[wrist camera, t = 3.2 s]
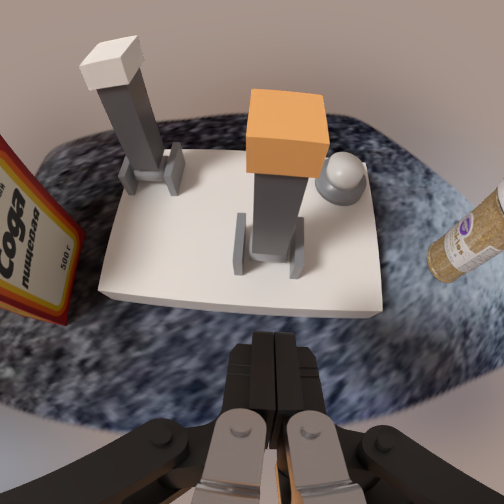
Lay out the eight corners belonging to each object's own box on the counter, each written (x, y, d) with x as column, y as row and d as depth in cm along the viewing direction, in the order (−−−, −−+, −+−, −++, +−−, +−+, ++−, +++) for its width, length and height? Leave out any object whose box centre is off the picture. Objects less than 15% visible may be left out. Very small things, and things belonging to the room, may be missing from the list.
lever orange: (286, 236, 22) (322, 95, 10) (286, 271, 21) (329, 144, 9) (249, 233, 22) (251, 88, 10) (247, 268, 21) (245, 136, 9)
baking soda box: (66, 326, 23) (-71, 264, 8) (20, 315, 23) (-98, 256, 8) (85, 232, 26) (-8, 123, 11) (41, 230, 26) (-50, 141, 12)
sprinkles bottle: (422, 240, 26) (503, 160, 14) (455, 245, 26) (535, 175, 14) (427, 283, 25) (523, 217, 12) (460, 286, 24) (554, 228, 12)
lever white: (174, 163, 25) (138, 35, 13) (167, 189, 24) (120, 57, 12) (145, 163, 25) (98, 43, 13) (137, 189, 24) (78, 66, 12)
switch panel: (356, 181, 29) (374, 143, 23) (368, 318, 23) (399, 302, 18) (145, 168, 29) (129, 131, 24) (112, 299, 24) (80, 279, 18)
